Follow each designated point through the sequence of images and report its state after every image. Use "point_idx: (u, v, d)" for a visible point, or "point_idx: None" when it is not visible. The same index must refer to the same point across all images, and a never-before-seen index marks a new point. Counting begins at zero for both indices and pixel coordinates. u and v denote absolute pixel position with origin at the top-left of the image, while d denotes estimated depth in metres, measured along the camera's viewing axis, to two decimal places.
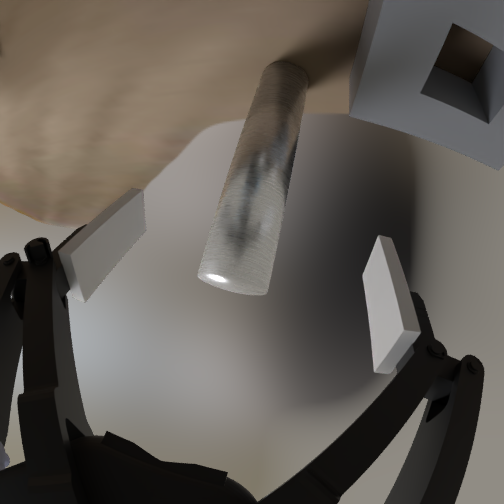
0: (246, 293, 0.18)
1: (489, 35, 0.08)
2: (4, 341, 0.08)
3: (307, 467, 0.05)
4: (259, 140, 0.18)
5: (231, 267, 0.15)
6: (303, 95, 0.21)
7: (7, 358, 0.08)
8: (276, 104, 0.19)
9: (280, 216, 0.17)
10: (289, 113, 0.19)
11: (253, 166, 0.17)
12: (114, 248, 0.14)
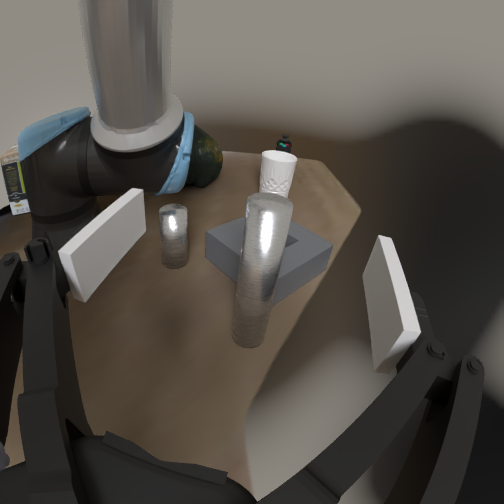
0: (290, 208, 0.25)
1: None
2: (4, 341, 0.08)
3: (307, 467, 0.05)
4: None
5: None
6: None
7: (7, 358, 0.08)
8: None
9: None
10: None
11: None
12: (114, 248, 0.14)
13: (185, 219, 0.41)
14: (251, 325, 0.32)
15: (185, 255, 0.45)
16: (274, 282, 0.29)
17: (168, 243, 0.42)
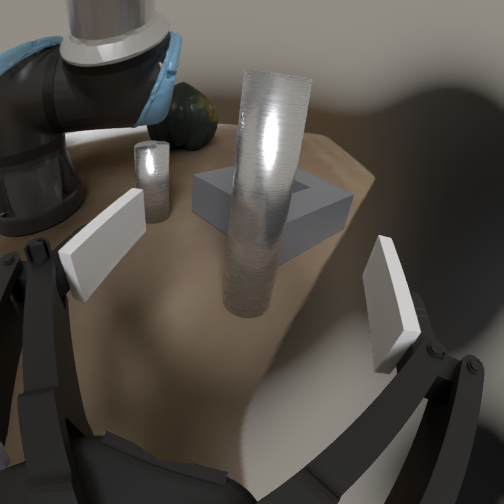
0: (308, 78, 0.15)
1: None
2: (4, 341, 0.08)
3: (307, 467, 0.05)
4: None
5: None
6: None
7: (7, 358, 0.08)
8: None
9: None
10: None
11: None
12: (114, 248, 0.14)
13: (166, 155, 0.31)
14: (251, 277, 0.21)
15: (166, 205, 0.34)
16: (286, 201, 0.19)
17: (144, 187, 0.31)
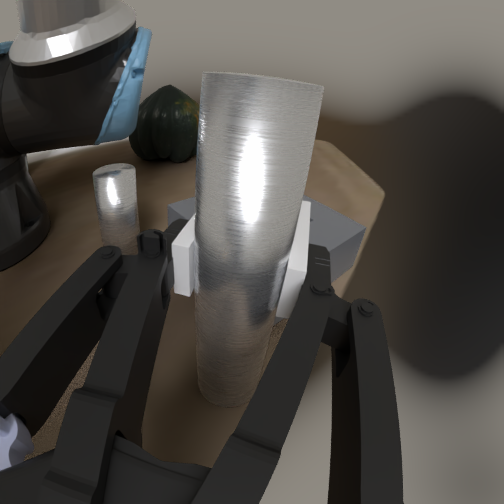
0: (316, 85, 0.08)
1: None
2: (73, 339, 0.09)
3: (234, 433, 0.06)
4: None
5: None
6: None
7: (71, 357, 0.09)
8: None
9: None
10: None
11: None
12: None
13: (131, 184, 0.24)
14: (228, 375, 0.15)
15: (136, 243, 0.28)
16: (276, 288, 0.12)
17: (107, 224, 0.25)
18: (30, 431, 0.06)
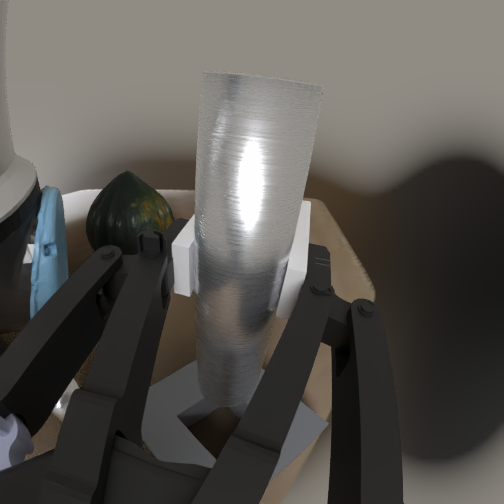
0: (316, 85, 0.08)
1: (193, 399, 0.25)
2: (73, 339, 0.09)
3: (234, 433, 0.06)
4: None
5: None
6: None
7: (71, 356, 0.09)
8: None
9: None
10: None
11: None
12: None
13: None
14: (228, 375, 0.15)
15: None
16: (276, 288, 0.12)
17: None
18: (30, 431, 0.06)
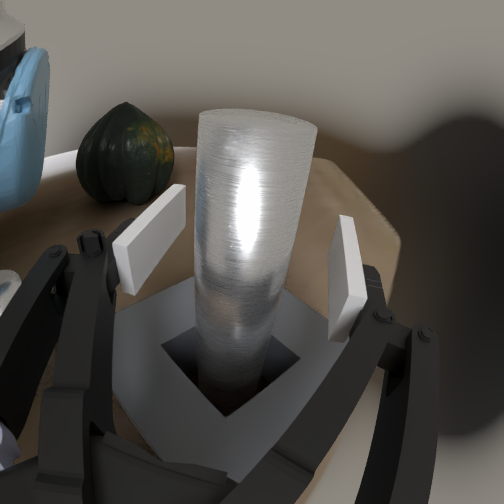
0: (309, 128, 0.09)
1: (187, 323, 0.18)
2: (37, 336, 0.08)
3: (273, 448, 0.06)
4: None
5: None
6: None
7: (37, 354, 0.08)
8: None
9: None
10: None
11: None
12: (161, 242, 0.15)
13: None
14: (227, 389, 0.16)
15: (51, 374, 0.16)
16: (271, 314, 0.13)
17: None
18: (13, 434, 0.06)
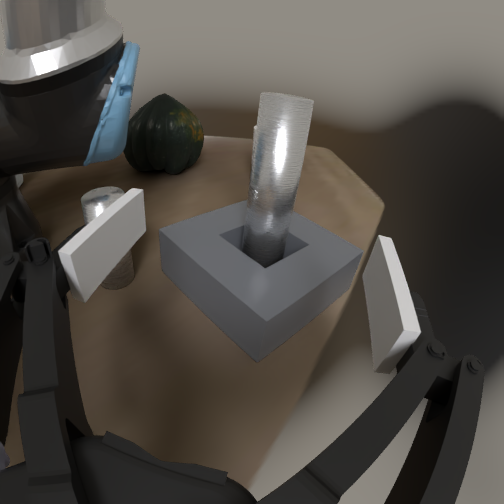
0: (310, 100, 0.20)
1: (234, 225, 0.29)
2: (4, 341, 0.08)
3: (307, 467, 0.05)
4: None
5: None
6: None
7: (7, 358, 0.08)
8: None
9: None
10: None
11: None
12: (114, 248, 0.14)
13: None
14: (263, 259, 0.26)
15: (127, 268, 0.27)
16: (293, 197, 0.24)
17: None
18: (0, 442, 0.05)
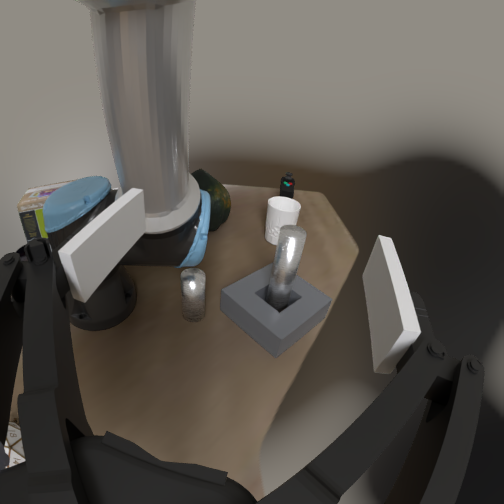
0: (304, 235, 0.44)
1: (261, 285, 0.53)
2: (4, 341, 0.08)
3: (307, 467, 0.05)
4: None
5: None
6: None
7: (7, 358, 0.08)
8: None
9: None
10: None
11: None
12: (114, 248, 0.14)
13: (204, 283, 0.47)
14: (278, 306, 0.50)
15: (203, 310, 0.51)
16: (294, 278, 0.48)
17: (189, 303, 0.48)
18: (0, 442, 0.05)
